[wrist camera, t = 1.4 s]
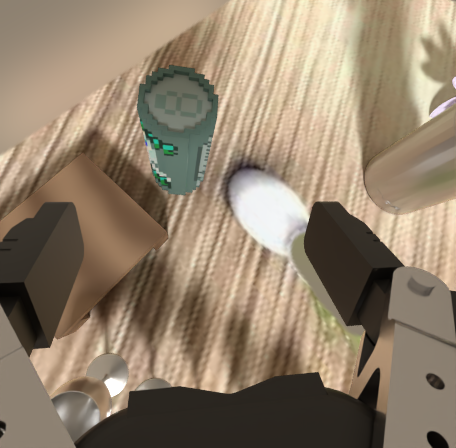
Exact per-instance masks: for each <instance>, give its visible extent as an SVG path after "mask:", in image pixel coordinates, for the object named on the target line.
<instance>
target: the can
mask: <svg viewBox="0 0 456 448" xmlns="http://www.w3.org/2000/svg"><path fill="white" fill-rule="evenodd" d="M204 76H205V75H203V74H197V73H195V69H193V68H187V67H180V66H174V65H169V69H164V68H158V72H153V71H152V76H149V75H146V84H140V87H139V95H138V103H137V110H138V114H139V118H140V122H141V126H142V130H143V135H144V139H145V143H146V147H147V151H148V155H149V160H150V164H151V168H152V172H153V176H155V180H156V183H159V186H162V190H168V193H169V194H179V195H185V192H191V193H192V190H196V187H199V185H200V181H203V178H204V173H205V169H206V164H207V160H208V155H209V151H210V147H211V142H212V138H213V133H214V129H215V124H216V120H217V109H218V95H216V94H213V92H214V85H210V84H209V80H207V79H204Z"/></svg>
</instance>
